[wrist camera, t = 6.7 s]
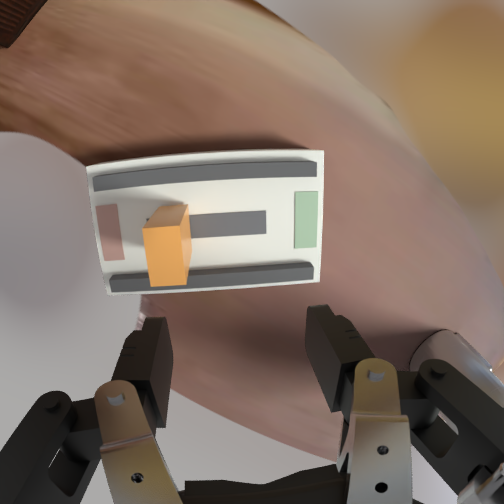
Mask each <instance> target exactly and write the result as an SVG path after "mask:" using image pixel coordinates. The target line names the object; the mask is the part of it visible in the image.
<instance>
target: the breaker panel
mask: <svg viewBox="0 0 504 504" xmlns="http://www.w3.org/2000/svg"><path fill="white" fill-rule="evenodd" d="M267 161H314V162H317V177H281V178H250V179H229V180H212V181H197V182H183V183H171V184H160V185H149V186H139V187H130V188H121V189H113V190H104V191H97V192H94V189H93V180H92V177H94V176H97V175H104V174H112V173H119V172H127V171H136V170H145V169H155V168H165V167H176V166H188V165H202V164H218V163H238V162H267ZM86 170H87V181H88V190H89V197H90V205H91V213H92V219H93V225H94V232H95V238H96V243H97V249H98V254H99V259H100V264H101V269H102V273H103V278H104V283H105V287H106V291H107V295H133V294H156V293H175V292H192V291H209V290H224V289H238V288H252V287H265V286H277V285H289V284H300V283H312V282H319V279H320V263H321V245H322V222H323V187H324V151H322V150H315V149H246V150H223V151H206V152H191V153H179V154H168V155H158V156H148V157H140V158H131V159H124V160H116V161H109V162H102V163H98V164H94V165H90V166H86ZM185 204H188V209H189V221H190V233H191V244H192V255H191V260H190V266H189V270H201V269H216V268H231V267H246V266H260V265H274V264H288V263H302V262H311V264H312V265H313V266H314V277H313V280H302V281H290V282H278V283H265V284H252V285H238V286H224V287H209V288H193V289H175V290H157V291H136V292H111V288H110V283H109V279H110V278H111V276H112V275H116V274H134V273H148V267H147V260H146V254H145V247H144V240H143V232H142V228H143V226H144V225H145V224H146V223H147V221H148V220H149V219H150V217H151V216H152V215H153V214H154V212H155V211H156V210H157V209H158V207H160V206H172V205H185Z"/></svg>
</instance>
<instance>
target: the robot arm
mask: <svg viewBox="0 0 504 504" xmlns="http://www.w3.org/2000/svg"><path fill="white" fill-rule="evenodd" d="M305 347H306V352H307V355H308V358H309V360H310V362H311V365H312V367H313V370H314V372H315V374H316V377H317V379H318V382H319V384H320V386H321V389H322V391H323V394H324V396H325V399H326V401H327V403H328V406H329V408H330V411H331V413H332V412H337V411H342V413H343V420H342V424H341V433H340V441H339V449H338V456H337V463H336V464H332V465H328V466H324V467H318V468H313V469H309V470H303V471H299V472H297V473H294V474H291V475H289V476H286V477H283V478H281V479H278V480H275V481H272V482H270V483H267V484H250V483H242V482H233V481H227V480H205V481H185V490H182V491H179V490H178V488H177V486H176V484H175V482H174V480H173V478H172V476H171V473H170V471H169V469H168V467H167V465H166V462H165V460H164V458H163V455H162V453H161V451H160V448H159V446H158V444H157V441H156V439H155V434H156V428H165V427H166V418H167V410H168V400H169V392H170V385H171V377H172V369H173V350H172V345H171V340H170V335H169V330H168V325H167V320H166V318H165V317H146V319H145V321H144V324H143V327H142V330H134V331H133V332H132V333H131V334H130V335H129V336H128V337H127V338H126V340H125V342H124V345H123V349H122V350H121V353H120V357H119V359H118V362H117V364H116V367H115V370H114V373H113V376H112V379H111V381H110V382H107V383H105V384H103V385H102V386H100V387H99V388H98V389H97V391H96V393H95V396H94V397H93V398H90V399H85V400H79V401H73V402H72V401H71V399H70V397H69V396H68V395H67V394H66V393H64V392H62V391H51V392H48V393H45V394H43V395H42V396H40V397H39V398H38V399H37V401H36V402H35V403H34V405H33V406H32V407H31V409H30V410H29V411H28V413H27V414H26V416H25V417H24V418H23V420H22V421H21V423H20V424H19V425H18V427H17V428H16V430H15V431H14V432H13V434H12V435H11V437H10V438H9V440H8V441H7V442H6V444H5V445H4V447H3V449H2V450H1V451H0V504H80V502H81V500H82V498H83V496H84V493H85V491H86V489H87V486H88V485H89V483H90V481H91V478H92V476H93V474H94V472H95V470H96V468H97V465H98V464H99V461H100V459H102V463H103V467H104V470H105V474H106V478H107V481H108V485H109V489H110V492H111V495H112V498H113V502H114V504H423V503H421V502H419V501H417V500H415V499H413V498H412V459H411V444H412V445H413V446H414V447H415V448H416V449H417V450H418V451H419V453H420V454H421V455H422V456H423V457H424V458H425V459H426V461H427V462H428V463H429V464H430V465H431V466H432V467H433V468H434V470H435V471H436V472H437V473H438V474H439V475H440V476H441V477H442V479H443V480H444V481H445V482H446V483H447V484H448V485H449V486H450V488H451V489H452V490H453V491H454V492H455V493H456V494H457V495H458V499H457V504H504V384H503V383H502V382H501V381H500V380H499V379H498V378H497V377H496V376H495V375H494V374H493V373H492V366H491V365H490V364H489V363H488V362H487V361H486V360H485V359H484V358H483V357H482V356H481V355H480V354H479V353H478V352H477V351H476V350H475V349H474V348H473V347H472V346H471V345H470V344H469V343H468V342H467V341H466V340H465V339H464V338H463V337H462V336H461V335H460V334H459V333H458V334H454V333H453V332H452V331H449V330H443V331H439V332H437V333H435V334H433V335H432V336H430V337H429V338H428V339H426V340H425V341H424V342H423V343H422V344H421V345H420V346H419V348H418V349H417V350H416V352H415V354H414V355H413V357H412V360H411V362H410V371H396V369H395V367H394V366H393V365H392V364H391V363H389V362H388V361H386V360H383V359H379V358H375V356H374V355H373V353H372V352H371V350H370V349H369V347H368V346H367V344H366V343H365V341H364V340H363V338H362V337H361V335H360V334H359V333H358V331H356V328H355V327H354V325H353V324H352V322H351V321H349V320H348V319H346V318H345V317H343V316H342V315H337V316H335V315H334V313H333V312H332V310H331V309H330V307H329V306H328V305H327V304H325V305H316V306H309V307H308V309H307V318H306V332H305ZM438 413H440V414H441V416H442V417H443V419H444V420H445V421H446V423H447V424H448V425H447V424H446V423H445V422H444V421H443V420H442V419H441V418H440V417H439V416H438ZM59 449H60V450H59ZM58 450H59V451H58ZM57 451H58V453H57ZM56 453H57V455H56ZM55 455H56V457H55ZM54 457H55V459H54V460H53V458H54ZM52 460H53V462H52ZM51 462H52V464H51ZM50 464H51V465H50ZM49 466H50V467H49Z"/></svg>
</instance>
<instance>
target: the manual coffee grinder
mask: <svg viewBox="0 0 504 504" xmlns="http://www.w3.org/2000/svg"><path fill="white" fill-rule="evenodd" d="M46 1H47V0H0V45H2V46H4V47H6V48H9V47H10V46H11V45H12V44H13V43H14V41H15V40H16V39H17V38H18V37H19V36H20V34H21V33H22V32H23V30H24V29H25V28H26V26H27V25H28V24H29V22H30V21H31V20H32V19H33V17H34V16H35V15H36V14H37V12H38V11H39V10H40V9H41V8H42V6H43V5H44V4H45V3H46Z"/></svg>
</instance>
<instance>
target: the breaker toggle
mask: <svg viewBox="0 0 504 504" xmlns="http://www.w3.org/2000/svg"><path fill="white" fill-rule="evenodd" d="M142 232H143V240H144V247H145V254H146V260H147V267H148V273H149V279H150V285H151V287H156V286H174V285H186V283H187V277H188V272H189V266H190V260H191V255H192V244H191V233H190V221H189V209H188V204H185V205H172V206H160V207H158V209H157V210H156V211H155V212H154V214H153V215H152V216H151V217H150V219H149V220H148V221H147V223H146V224H145V225H144V226H143V228H142Z"/></svg>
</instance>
